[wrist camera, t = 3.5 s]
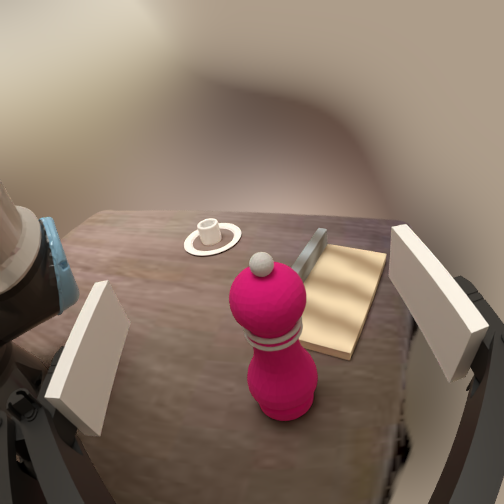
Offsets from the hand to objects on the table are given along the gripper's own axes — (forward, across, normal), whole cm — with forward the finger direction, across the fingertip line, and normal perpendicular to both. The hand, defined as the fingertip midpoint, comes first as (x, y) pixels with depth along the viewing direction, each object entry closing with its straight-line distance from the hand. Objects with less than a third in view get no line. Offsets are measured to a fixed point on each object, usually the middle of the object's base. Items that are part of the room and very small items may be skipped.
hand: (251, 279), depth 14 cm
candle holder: (+46, -10, -23) cm, 52 cm away
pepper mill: (+8, 0, -24) cm, 25 cm away
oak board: (+24, +9, -24) cm, 35 cm away
